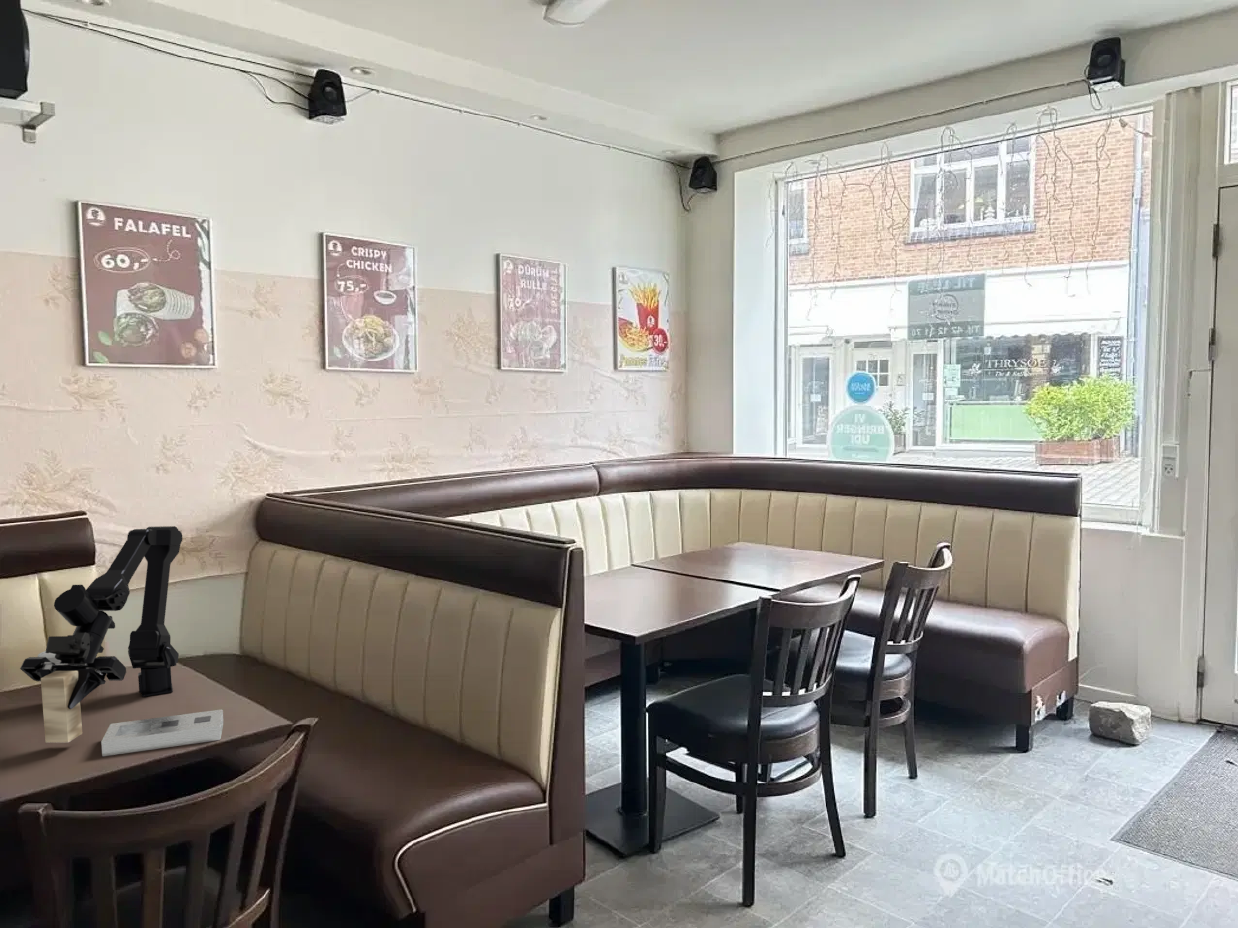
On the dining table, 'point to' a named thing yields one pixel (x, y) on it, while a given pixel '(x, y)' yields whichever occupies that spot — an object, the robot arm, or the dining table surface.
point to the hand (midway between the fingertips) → (57, 708)
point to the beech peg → (60, 707)
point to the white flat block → (162, 732)
